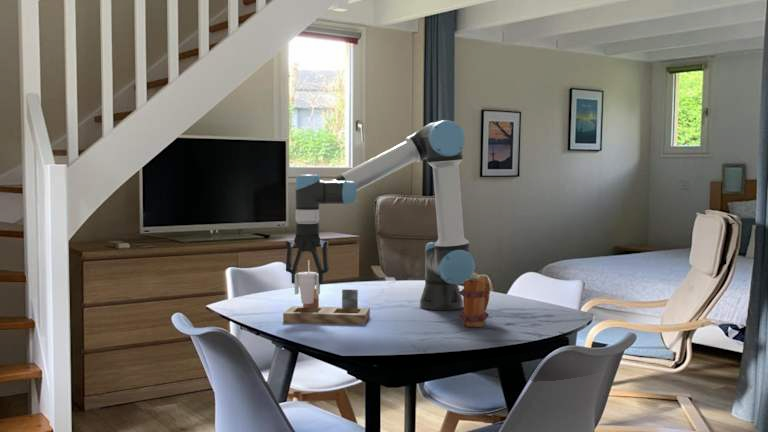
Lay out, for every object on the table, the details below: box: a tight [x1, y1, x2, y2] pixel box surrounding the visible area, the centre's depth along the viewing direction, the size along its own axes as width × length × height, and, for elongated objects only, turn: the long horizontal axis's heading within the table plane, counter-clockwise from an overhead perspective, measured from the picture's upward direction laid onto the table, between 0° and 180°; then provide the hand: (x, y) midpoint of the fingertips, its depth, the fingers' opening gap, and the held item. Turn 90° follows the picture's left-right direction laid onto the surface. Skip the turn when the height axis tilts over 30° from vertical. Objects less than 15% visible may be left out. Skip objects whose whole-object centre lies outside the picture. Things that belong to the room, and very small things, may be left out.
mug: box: [458, 275, 491, 328], centre depth 249 cm, size 15×8×15 cm, turn 148°
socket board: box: [282, 288, 371, 325], centre depth 256 cm, size 26×13×9 cm, turn 84°
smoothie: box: [297, 259, 318, 305], centre depth 257 cm, size 6×6×14 cm
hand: (307, 293), depth 257 cm, fingers closed on smoothie, 6 cm apart
